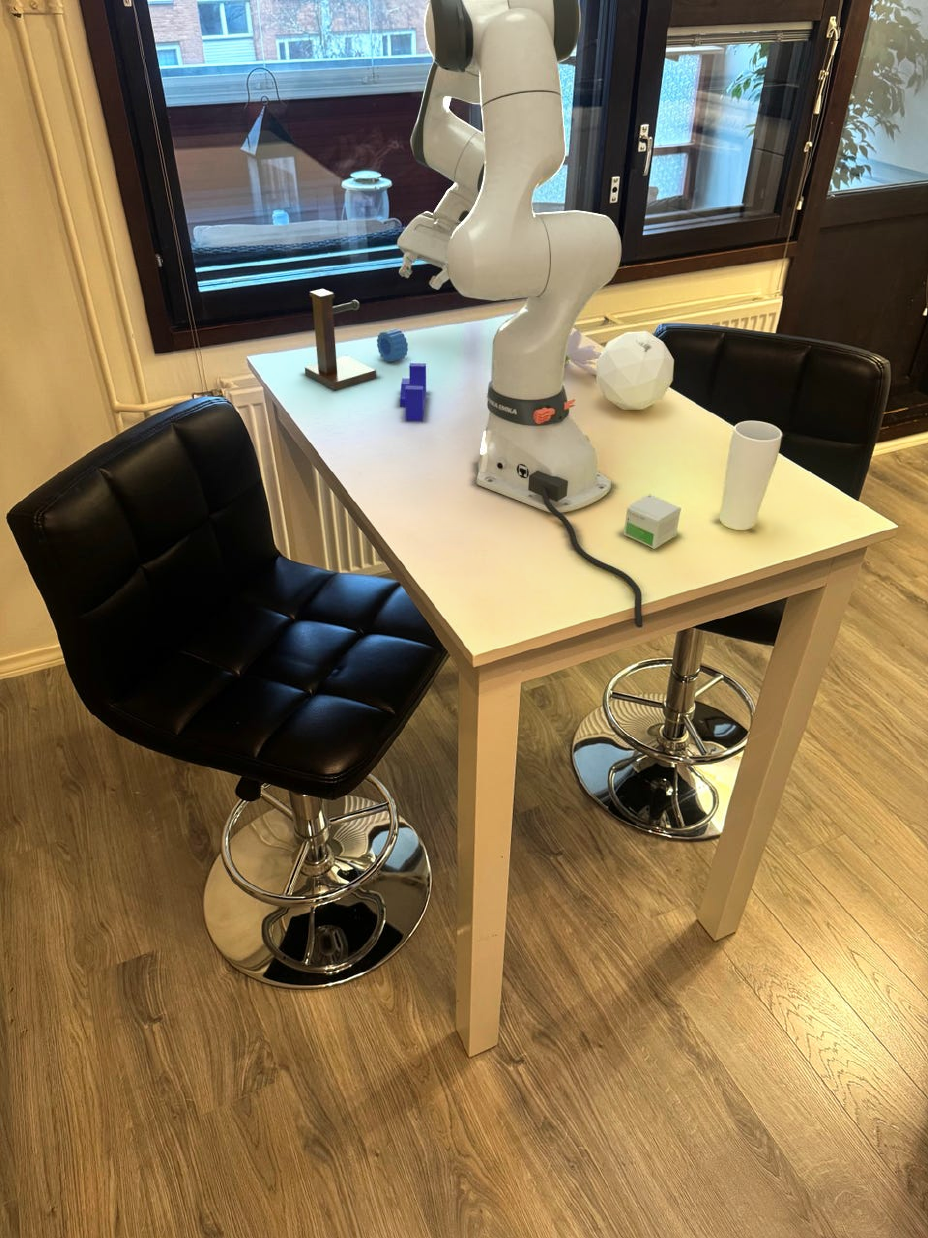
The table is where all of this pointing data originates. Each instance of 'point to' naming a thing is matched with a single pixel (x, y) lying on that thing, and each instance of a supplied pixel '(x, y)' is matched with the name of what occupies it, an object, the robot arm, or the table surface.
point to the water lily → (580, 353)
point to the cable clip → (414, 392)
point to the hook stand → (333, 347)
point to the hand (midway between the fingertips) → (417, 281)
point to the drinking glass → (748, 472)
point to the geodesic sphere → (634, 370)
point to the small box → (652, 521)
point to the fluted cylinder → (392, 345)
